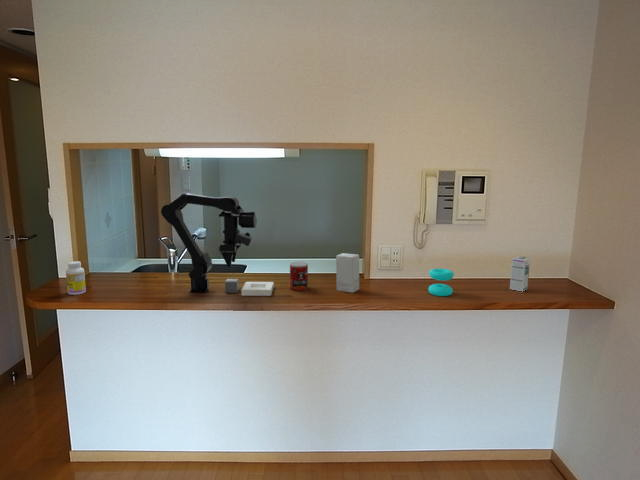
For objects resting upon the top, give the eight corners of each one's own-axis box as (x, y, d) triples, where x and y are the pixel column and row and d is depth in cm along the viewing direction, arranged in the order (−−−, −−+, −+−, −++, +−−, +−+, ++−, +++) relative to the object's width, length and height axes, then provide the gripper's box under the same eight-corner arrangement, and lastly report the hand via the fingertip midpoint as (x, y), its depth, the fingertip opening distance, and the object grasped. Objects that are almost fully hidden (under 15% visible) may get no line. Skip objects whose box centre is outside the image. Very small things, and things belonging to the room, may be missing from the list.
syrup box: (522, 292, 189) (526, 259, 187) (509, 289, 193) (511, 257, 191) (527, 290, 193) (530, 257, 191) (513, 287, 197) (516, 255, 195)
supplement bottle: (65, 293, 182) (62, 262, 179) (82, 289, 187) (79, 259, 184) (71, 296, 177) (68, 265, 175) (88, 292, 182) (86, 262, 180)
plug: (225, 292, 185) (224, 281, 184) (227, 290, 189) (226, 278, 188) (237, 292, 185) (236, 281, 184) (238, 290, 189) (238, 278, 188)
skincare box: (359, 289, 191) (360, 254, 188) (352, 293, 185) (353, 257, 183) (342, 286, 195) (343, 252, 192) (335, 290, 190) (335, 254, 187)
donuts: (433, 266, 192) (457, 269, 187) (432, 288, 194) (455, 292, 188) (426, 271, 184) (450, 274, 178) (424, 294, 185) (448, 298, 180)
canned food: (292, 291, 187) (292, 266, 185) (288, 286, 195) (288, 262, 193) (309, 290, 189) (309, 265, 187) (305, 285, 197) (305, 261, 195)
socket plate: (241, 295, 181) (241, 289, 180) (246, 287, 193) (246, 281, 192) (271, 295, 181) (270, 289, 181) (273, 287, 193) (273, 282, 192)
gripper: (247, 231, 173) (247, 270, 176) (253, 224, 191) (253, 259, 194) (218, 230, 173) (219, 269, 175) (227, 224, 191) (228, 259, 194)
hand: (231, 264), depth 185 cm, fingers open, 9 cm apart
